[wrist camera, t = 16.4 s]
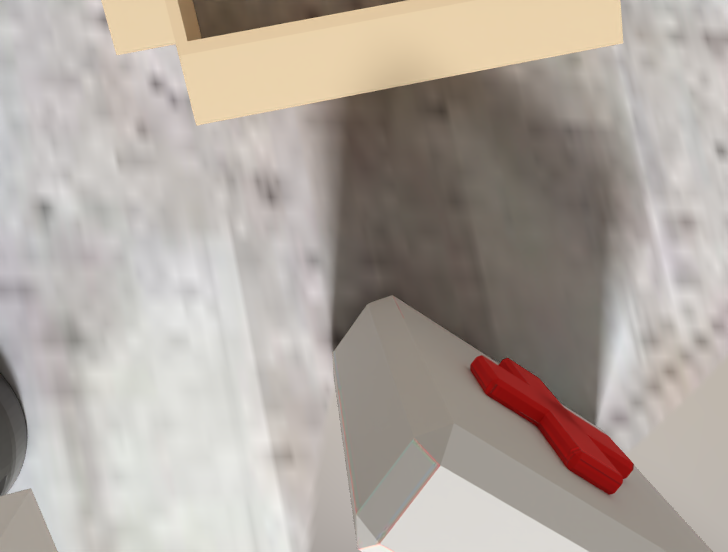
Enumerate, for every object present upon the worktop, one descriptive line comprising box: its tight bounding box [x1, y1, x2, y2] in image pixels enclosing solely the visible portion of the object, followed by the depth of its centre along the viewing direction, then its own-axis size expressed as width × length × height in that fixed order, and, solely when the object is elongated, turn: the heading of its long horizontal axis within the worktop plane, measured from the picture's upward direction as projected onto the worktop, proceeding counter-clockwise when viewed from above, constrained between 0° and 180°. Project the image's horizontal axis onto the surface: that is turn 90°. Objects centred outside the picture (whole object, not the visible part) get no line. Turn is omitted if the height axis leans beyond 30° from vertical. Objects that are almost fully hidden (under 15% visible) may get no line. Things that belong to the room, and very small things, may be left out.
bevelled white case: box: [333, 295, 713, 552], centre depth 38 cm, size 21×8×20 cm, turn 55°
